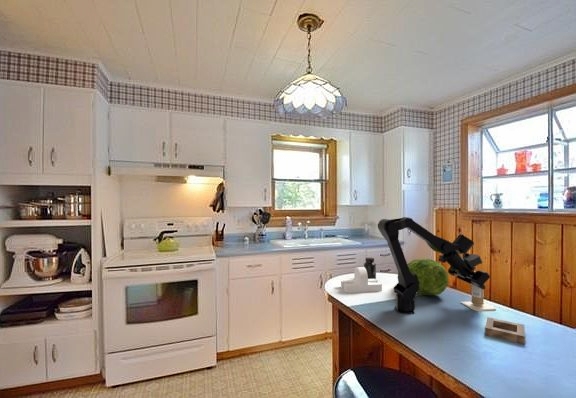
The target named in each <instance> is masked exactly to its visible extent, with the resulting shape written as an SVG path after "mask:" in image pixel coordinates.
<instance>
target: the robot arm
mask: <svg viewBox="0 0 576 398" xmlns="http://www.w3.org/2000/svg"><path fill="white" fill-rule="evenodd" d="M377 228H378V231H379V232H380V234H381V235H382V237H383V238H384V239H385V240H386V242H387V245H388V248H389V251H390V253H391V257H392V259H393V262H394V264H395V267H396V270H397V281H398V282H397V283H396V284H395V285H394V286H393V288H392V289H393V292H394V293H395V305H394V308H395V309H396V311H397V313H399V314H400V313H401V314H402V313H403V314H416V313H415V309H416V306H415V304H416V303H415V302H416V301H415V299H416V296H417V294H418V293H417V292H418V290H419V288H420V286H419V284H420V282H419V281H418V277H417V274H415V273H413V272H411V271H410V270H409V267H408V265H407V264H408V262H407V259H406V257H405V254H404V252H403V248H402V245H401V243H400V240H399V234H400V231H402V230H404V229H407V230H408V231H410V232H412V233H413V234H414V235H415V236H417V237H418V238H420V239H421V240H423V241H425V243H426V244H427V246H428V247H429V248H430V249H431V250H433V251H434V252H435V253H439V254H440V255H438V256H439V258H438V262H439V263H440V262H441V263H443V264H446V263H447V264H448V265H449V268H448V269H447V274H449V275H450V276H453V277H456V278H457V279H458V280H461V281H463V282H465V283H467V284H469V285H471V284H473V285H475V286H477V287H479V288H481V289H483V290H485V289H486V285H485V283H486V282H488V280H489V279H491V275H490V274H489V272H486V271H484V270H480V269H479V270H476V272H474V271H475V269H476V266H478V265H480V264H481V265H482V264H483V260H482V258H481V256H480V255H479V254H475V253H474V254H473V253H469V251H470V250H471V248H472V247H474V246H475V242H474V241H473V240H472V239H470V238H469V237H468V236H465V235H464V234H462V233H459V234H458V235H457V236H456V238H455V239H454V240H453V242H450V241H449V240H447V239H446V238H442V237H440V236H437V235H435V234H434V233H432V232H431V231H429V230H427V229H426V228H425V227H423V226H422V225H420V224H419V223H417V222H416V221H414V220H413V218H411V217H407V216H403V217H400V218H392V219H387V218H383V219H380V220H379V221H378V223H377ZM461 255H462V256H461Z"/></svg>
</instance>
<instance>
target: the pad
mask: <svg viewBox="0 0 576 398" xmlns="http://www.w3.org/2000/svg"><path fill="white" fill-rule="evenodd" d="M471 301H472V300H471ZM471 301H469V300H468V301H461V302H460V303H461V304H462V305H463V306H466V307H467V308H469V309H471V310H473V311H475V312H484V311H485V312H486V311H497V308H496V307H495V306H494V307H493V306H492V305H490V304H488V303H485V302H483V303H484V304H483V305H475V304H473V303H472V302H471Z"/></svg>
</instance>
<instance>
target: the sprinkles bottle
mask: <svg viewBox="0 0 576 398" xmlns="http://www.w3.org/2000/svg"><path fill="white" fill-rule="evenodd" d="M473 271H474V272H476V271H477V270H476V271H475V270H473ZM470 285H471V286H470V287H471V288H470V289H471V302H472V303H473V304H475V305H483V304H484V303H485V302H484V298H485V296H484V290H485V289H484V290H483V289H481V288H479V287H477V286H475V285H473V284H470Z"/></svg>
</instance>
